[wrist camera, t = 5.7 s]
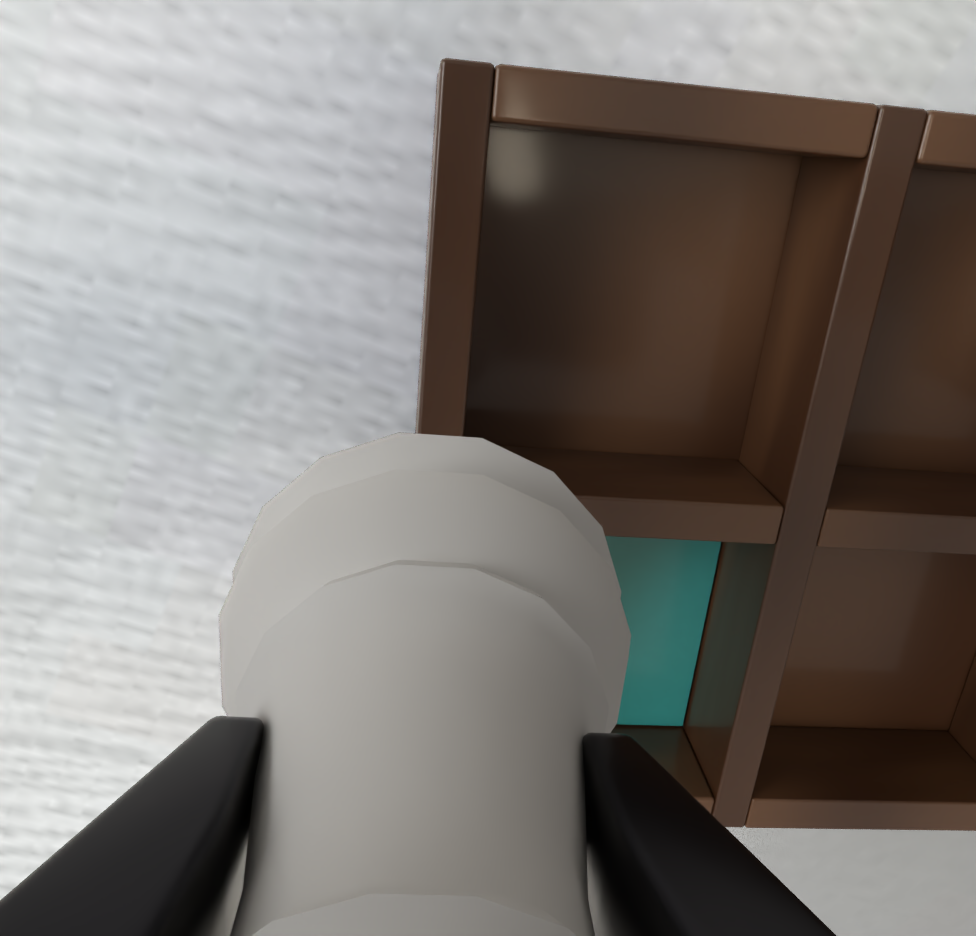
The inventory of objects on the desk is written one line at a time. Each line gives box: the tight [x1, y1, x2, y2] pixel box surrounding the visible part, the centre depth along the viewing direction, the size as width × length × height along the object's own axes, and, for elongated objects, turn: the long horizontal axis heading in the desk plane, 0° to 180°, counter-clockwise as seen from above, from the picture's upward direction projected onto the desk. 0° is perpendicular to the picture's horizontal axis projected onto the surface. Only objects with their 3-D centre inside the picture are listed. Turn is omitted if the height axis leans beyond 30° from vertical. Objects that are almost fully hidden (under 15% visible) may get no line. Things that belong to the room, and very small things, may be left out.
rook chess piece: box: [219, 432, 631, 936], centre depth 6 cm, size 4×4×8 cm
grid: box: [415, 58, 976, 831], centre depth 17 cm, size 14×14×3 cm
